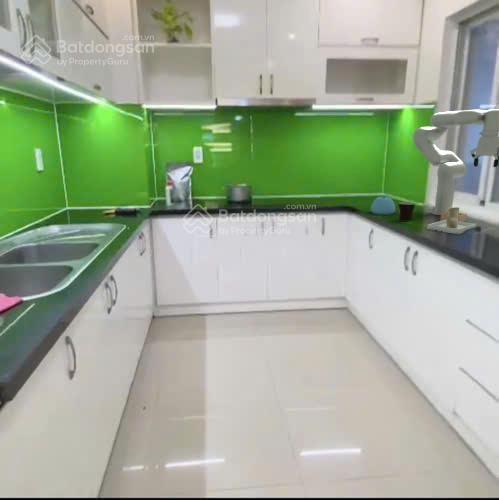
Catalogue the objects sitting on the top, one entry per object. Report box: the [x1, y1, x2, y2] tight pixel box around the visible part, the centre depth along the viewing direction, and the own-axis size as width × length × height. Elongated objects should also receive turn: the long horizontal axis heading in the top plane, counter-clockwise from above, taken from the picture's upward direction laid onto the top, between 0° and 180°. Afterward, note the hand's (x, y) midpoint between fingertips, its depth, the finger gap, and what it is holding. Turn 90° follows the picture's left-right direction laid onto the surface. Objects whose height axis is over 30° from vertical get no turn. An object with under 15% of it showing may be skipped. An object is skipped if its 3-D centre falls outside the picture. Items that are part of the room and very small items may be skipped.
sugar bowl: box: [370, 194, 396, 216], centre depth 245 cm, size 15×15×12 cm
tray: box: [427, 220, 477, 235], centre depth 199 cm, size 16×20×2 cm
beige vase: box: [446, 206, 460, 228], centre depth 198 cm, size 5×5×10 cm
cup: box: [440, 212, 468, 222], centre depth 215 cm, size 10×10×5 cm
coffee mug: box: [398, 201, 416, 223], centre depth 219 cm, size 12×9×10 cm
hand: (485, 166), depth 210 cm, fingers open, 9 cm apart
